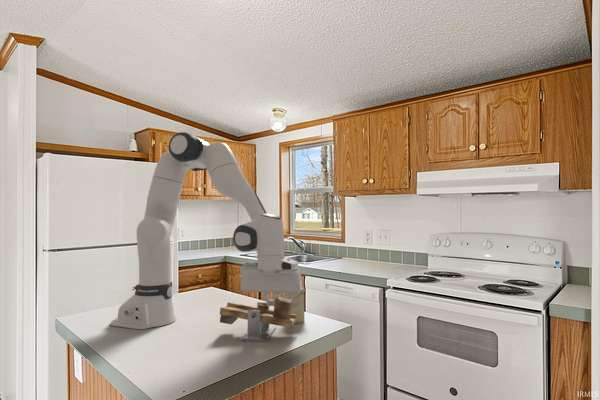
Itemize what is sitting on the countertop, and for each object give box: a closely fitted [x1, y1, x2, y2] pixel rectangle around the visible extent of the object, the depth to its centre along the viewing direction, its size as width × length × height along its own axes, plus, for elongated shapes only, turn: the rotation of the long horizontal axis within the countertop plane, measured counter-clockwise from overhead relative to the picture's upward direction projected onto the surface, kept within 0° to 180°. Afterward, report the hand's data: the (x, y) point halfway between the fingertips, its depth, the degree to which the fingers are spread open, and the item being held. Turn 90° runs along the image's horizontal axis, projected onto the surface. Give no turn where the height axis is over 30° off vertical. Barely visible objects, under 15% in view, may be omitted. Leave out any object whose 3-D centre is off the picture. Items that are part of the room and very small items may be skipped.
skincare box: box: [284, 287, 305, 324], centre depth 135 cm, size 6×4×12 cm
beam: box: [219, 301, 296, 329], centre depth 121 cm, size 24×8×6 cm, turn 80°
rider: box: [273, 296, 293, 319], centre depth 120 cm, size 5×5×6 cm
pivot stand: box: [240, 301, 277, 343], centre depth 121 cm, size 8×13×9 cm, turn 170°
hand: (271, 305), depth 121 cm, fingers closed
